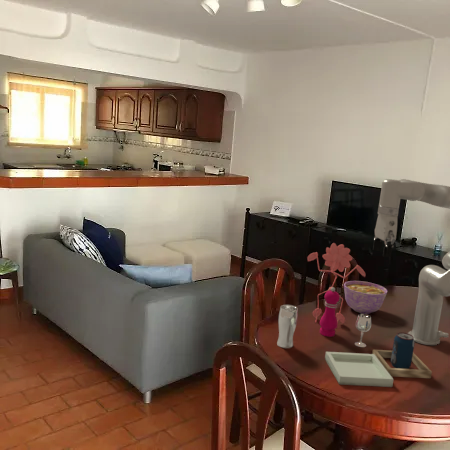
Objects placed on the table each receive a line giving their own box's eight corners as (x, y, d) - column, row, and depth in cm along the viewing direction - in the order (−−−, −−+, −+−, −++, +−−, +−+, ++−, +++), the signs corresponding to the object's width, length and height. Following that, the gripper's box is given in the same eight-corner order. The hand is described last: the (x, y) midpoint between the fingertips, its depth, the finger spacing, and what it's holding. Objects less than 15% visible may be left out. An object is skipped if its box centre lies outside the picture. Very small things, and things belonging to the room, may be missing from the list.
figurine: (356, 333, 202) (367, 251, 196) (296, 319, 212) (306, 241, 206) (361, 322, 215) (373, 245, 210) (305, 309, 226) (314, 236, 220)
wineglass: (360, 348, 187) (364, 319, 184) (349, 342, 192) (353, 314, 189) (371, 346, 189) (375, 318, 187) (360, 340, 194) (364, 312, 192)
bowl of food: (388, 310, 233) (392, 287, 231) (377, 322, 216) (381, 297, 214) (348, 300, 243) (351, 278, 241) (334, 310, 227) (337, 287, 224)
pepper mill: (336, 338, 194) (342, 291, 191) (318, 335, 196) (324, 288, 192) (335, 331, 201) (342, 286, 198) (318, 329, 203) (324, 283, 199)
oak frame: (411, 357, 183) (412, 351, 182) (430, 378, 168) (431, 371, 167) (371, 355, 182) (372, 349, 181) (387, 376, 166) (388, 369, 166)
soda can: (413, 367, 175) (418, 336, 172) (404, 373, 170) (410, 341, 167) (395, 360, 179) (400, 330, 177) (386, 365, 175) (391, 334, 172)
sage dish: (372, 361, 177) (374, 354, 176) (392, 386, 159) (393, 379, 159) (324, 358, 176) (325, 351, 175) (338, 384, 158) (340, 376, 157)
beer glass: (295, 343, 187) (299, 306, 184) (292, 350, 180) (296, 312, 177) (278, 339, 189) (282, 303, 186) (273, 346, 182) (278, 308, 179)
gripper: (407, 215, 180) (400, 260, 183) (387, 208, 197) (381, 248, 200) (388, 214, 179) (381, 258, 183) (370, 207, 196) (364, 247, 200)
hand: (381, 253), depth 191 cm, fingers open, 9 cm apart
